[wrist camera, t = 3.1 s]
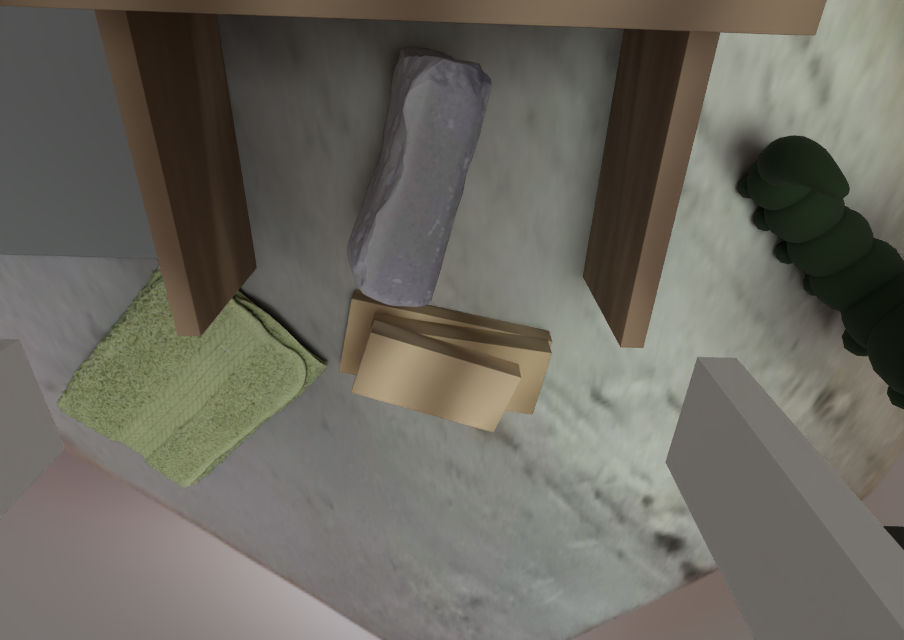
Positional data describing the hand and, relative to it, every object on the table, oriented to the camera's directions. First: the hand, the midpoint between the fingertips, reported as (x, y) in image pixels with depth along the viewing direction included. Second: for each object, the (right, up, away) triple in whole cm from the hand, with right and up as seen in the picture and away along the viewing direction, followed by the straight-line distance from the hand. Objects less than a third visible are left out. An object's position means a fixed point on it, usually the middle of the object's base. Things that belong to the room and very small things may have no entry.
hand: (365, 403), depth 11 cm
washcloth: (-18, -2, +29) cm, 34 cm away
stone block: (0, +12, +21) cm, 24 cm away
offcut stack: (+1, 0, +28) cm, 28 cm away
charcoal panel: (-21, +14, +20) cm, 32 cm away
